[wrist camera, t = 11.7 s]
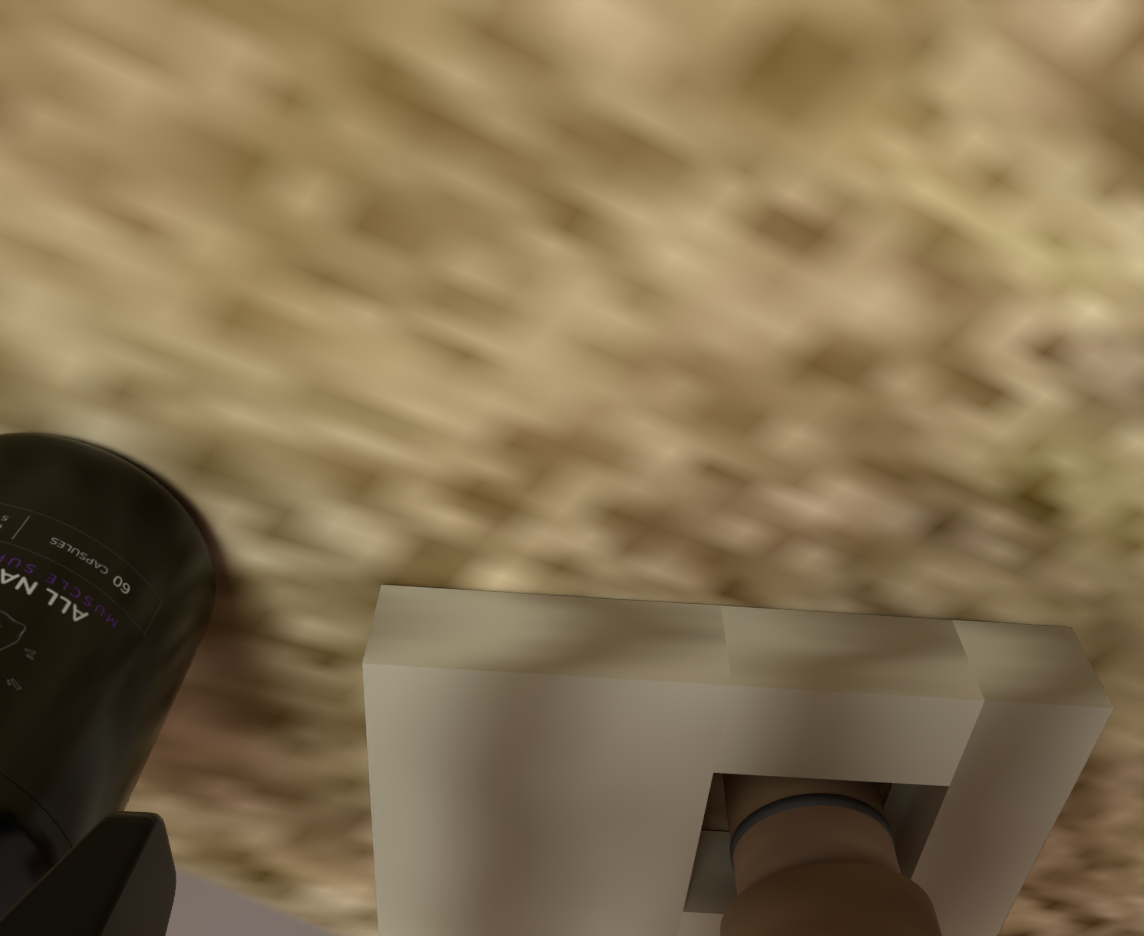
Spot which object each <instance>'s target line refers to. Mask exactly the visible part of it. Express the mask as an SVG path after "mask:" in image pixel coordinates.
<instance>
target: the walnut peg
mask: <svg viewBox="0 0 1144 936" xmlns="http://www.w3.org/2000/svg"><path fill="white" fill-rule="evenodd" d="M722 777H723V785H724V793H725V801H726V809H727V817H728V825H729V833H730V857H731V865H732V868H733V871H734V873H735V881H736V889H737V897H736V898H735V899H734V900H733V901H732V902H731V903H730V905H729V906H728V908H727V909H726V911H725V913H724V915H723V917H722V920H721V924H720V936H942V934H941V930H940V927H939V923H938V920H937V916H936V913H935V909H934V907H933V904H932V901H931V899H930V898H929V896H928V895H927V893H926V892H925V891H924V890H923V889H922V888H921V887H920V886H919V885H917V884H916V883H915V882H913V881H912V880H910V879H909V878H907V877H905V876H903V875H901V872H900V868H899V864H898V861H897V857H896V853H895V842H894V838H893V834H892V830H891V828H890V825H889V823H888V821H887V820H886V816H885V813H884V809H883V805H882V801H881V798H880V794H879V790H878V787H877V783H876V782H868V781H850V780H833V779H815V778H798V777H781V776H763V775H746V774H728V773H722Z"/></svg>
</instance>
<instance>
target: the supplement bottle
mask: <svg viewBox="0 0 1144 936" xmlns="http://www.w3.org/2000/svg"><path fill="white" fill-rule="evenodd" d="M215 588H216V584H215V572H214V566H213V562H212V558H211V555H210V552H209V549H208V546H207V544H206V542H205V539H204V537H203V535H202V533H201V532H200V530H199V528H198V526H197V525H196V523H195V522H194V520H193V519H192V517H191V516H190V515H189V513H188V512H187V510H186V509H185V508H184V507H183V506H182V505H181V503H180V502H179V501H178V500H177V499H176V498H175V497H174V496H173V495H172V494H171V493H170V492H169V491H168V490H167V489H166V488H165V487H164V486H162V485H161V484H160V483H159V482H158V481H156V480H155V479H154V478H152V477H151V476H150V475H148V474H147V473H146V472H144V471H143V470H141V469H140V468H138V467H136V466H135V465H133V464H132V463H130V462H128V461H126V460H124V459H122V458H120V457H119V456H117V455H114V454H112V453H110V452H108V451H105V450H103V449H100V448H98V447H95V446H92V445H90V444H86V443H83V442H80V441H76V440H72V439H68V438H63V437H58V436H51V435H44V434H30V433H13V434H2V435H0V919H1V918H2V917H3V916H4V915H5V914H6V913H7V912H8V911H9V910H10V909H11V908H12V907H13V906H14V905H15V904H16V903H17V902H18V901H19V900H20V899H21V898H22V897H23V896H24V895H25V894H26V893H27V892H28V891H29V890H30V889H31V888H32V887H33V886H34V885H35V884H36V883H37V882H38V881H39V880H40V879H41V878H42V877H43V876H44V875H45V874H46V873H47V872H48V871H49V870H50V869H51V868H52V867H53V866H54V865H55V864H56V863H57V862H58V861H59V860H60V859H61V858H62V857H63V856H64V855H65V854H66V853H67V852H68V851H69V850H71V849H72V848H73V847H74V846H75V845H76V844H77V843H78V842H79V841H80V840H81V839H82V838H83V837H84V836H85V835H86V834H87V833H88V832H89V831H90V830H91V829H92V828H93V827H94V826H95V825H96V824H97V823H98V822H99V821H100V820H101V819H102V818H103V817H105V816H106V815H108V814H110V813H112V812H116V811H124V810H125V807H126V805H127V803H128V801H129V799H130V796H131V794H132V792H133V790H134V788H135V785H136V783H137V781H138V779H139V777H140V774H141V772H142V770H143V768H144V766H145V763H146V761H147V759H148V757H149V755H150V752H151V750H152V748H153V746H154V744H155V741H156V739H157V737H158V735H159V733H160V730H161V728H162V726H163V724H164V722H165V719H166V717H167V715H168V713H169V711H170V708H171V706H172V704H173V702H174V700H175V698H176V695H177V693H178V691H179V689H180V687H181V684H182V682H183V680H184V678H185V676H186V673H187V671H188V669H189V667H190V665H191V662H192V660H193V658H194V656H195V653H196V651H197V648H198V646H199V644H200V641H201V639H202V637H203V634H204V632H205V630H206V627H207V625H208V622H209V619H210V616H211V613H212V610H213V605H214V601H215Z"/></svg>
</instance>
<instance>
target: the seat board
mask: <svg viewBox="0 0 1144 936" xmlns="http://www.w3.org/2000/svg"><path fill="white" fill-rule="evenodd" d="M362 667H363V684H364V700H365V717H366V733H367V750H368V767H369V783H370V800H371V816H372V833H373V850H374V866H375V883H376V899H377V916H378V932H379V936H720V924H721V920H722V917H723V915H724V913H725V911H726V909H727V908H728V906H729V905H730V903H731V902H732V901H733V900H734V899H735V898H736V897H737V889H736V881H735V873H734V871H733V868H732V865H731V857H730V833H729V832H723V831H705V830H701V827H702V823H703V818H704V813H705V809H706V804H707V800H708V795H709V791H710V786H711V781H712V777H713V773H728V774H746V775H763V776H781V777H798V778H815V779H833V780H850V781H868V782H885V783H892V786H891V788H890V791H889V794H888V796H887V799H886V802H885V805H884V807H883V809H884V813H885V816H886V820H887V821H888V823H889V825H890V828H891V830H892V834H893V838H894V842H895V853H896V857H897V861H898V864H899V868H900V872H901V875H903V876H905V877H907V878H909V879H910V880H912V881H913V882H915V883H916V884H917V885H919V886H920V887H921V888H922V889H923V890H924V891H925V892H926V893H927V895H928V896H929V898H930V899H931V901H932V904H933V907H934V909H935V913H936V916H937V920H938V923H939V927H940V930H941V934H942V936H997V935H998V933H999V931H1000V929H1001V927H1002V925H1003V923H1004V921H1005V919H1006V917H1007V915H1008V913H1009V911H1010V910H1011V908H1012V906H1013V904H1014V902H1015V900H1016V898H1017V896H1018V894H1019V892H1020V890H1021V888H1022V886H1023V884H1024V882H1025V880H1026V879H1027V877H1028V875H1029V873H1030V871H1031V869H1032V867H1033V865H1034V863H1035V861H1036V859H1037V857H1038V855H1039V853H1040V851H1041V849H1042V847H1043V846H1044V844H1045V842H1046V840H1047V838H1048V836H1049V834H1050V832H1051V830H1052V828H1053V826H1054V824H1055V822H1056V820H1057V818H1058V816H1059V814H1060V813H1061V811H1062V809H1063V807H1064V805H1065V803H1066V801H1067V799H1068V797H1069V795H1070V793H1071V791H1072V789H1073V787H1074V785H1075V783H1076V782H1077V780H1078V778H1079V776H1080V774H1081V772H1082V770H1083V768H1084V766H1085V764H1086V762H1087V760H1088V758H1089V756H1090V754H1091V752H1092V750H1093V749H1094V747H1095V745H1096V743H1097V741H1098V739H1099V737H1100V735H1101V733H1102V731H1103V729H1104V727H1105V725H1106V723H1107V721H1108V719H1109V718H1110V716H1111V714H1112V712H1113V710H1114V707H1113V705H1112V703H1111V701H1110V699H1109V697H1108V696H1107V694H1106V692H1105V690H1104V688H1103V686H1102V684H1101V682H1100V681H1099V679H1098V677H1097V675H1096V673H1095V671H1094V669H1093V667H1092V666H1091V664H1090V662H1089V660H1088V658H1087V656H1086V654H1085V652H1084V651H1083V649H1082V647H1081V645H1080V643H1079V641H1078V639H1077V637H1076V636H1075V634H1074V632H1073V630H1072V628H1071V627H1059V626H1043V625H1027V624H1011V623H994V622H978V621H962V620H946V619H929V618H913V617H897V616H881V615H864V614H848V613H832V612H816V611H799V610H783V609H767V608H751V607H734V606H718V605H702V604H686V603H669V602H653V601H637V600H621V599H605V598H588V597H572V596H556V595H540V594H523V593H507V592H491V591H475V590H458V589H442V588H426V587H410V586H393V585H381V589H380V593H379V597H378V601H377V605H376V609H375V614H374V618H373V622H372V626H371V630H370V634H369V638H368V642H367V646H366V650H365V654H364V658H363V663H362Z"/></svg>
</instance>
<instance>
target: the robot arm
mask: <svg viewBox="0 0 1144 936" xmlns="http://www.w3.org/2000/svg"><path fill="white" fill-rule="evenodd" d="M175 890H176V871H175V866H174V862H173V857H172V853H171V849H170V844H169V840H168V836H167V832H166V827H165V824H164V821H163V819H162V818H161V817H160V816H159V815H158V814H156V813H147V812H129V811H116V812H112V813H110V814H108V815H106V816H105V817H103V818H102V819H101V820H100V821H99V822H98V823H97V824H96V825H95V826H94V827H93V828H92V829H91V830H90V831H89V832H88V833H87V834H86V835H85V836H84V837H83V838H82V839H81V840H80V841H79V842H78V843H77V844H76V845H75V846H74V847H73V848H72V849H71V850H69V851H68V852H67V853H66V854H65V855H64V856H63V857H62V858H61V859H60V860H59V861H58V862H57V863H56V864H55V865H54V866H53V867H52V868H51V869H50V870H49V871H48V872H47V873H46V874H45V875H44V876H43V877H42V878H41V879H40V880H39V881H38V882H37V883H36V884H35V885H34V886H33V887H32V888H31V889H30V890H29V891H28V892H27V893H26V894H25V895H24V896H23V897H22V898H21V899H20V900H19V901H18V902H17V903H16V904H15V905H14V906H13V907H12V908H11V909H10V910H9V911H8V912H7V913H6V914H5V915H4V916H3V917H2V918H1V919H0V936H165V935H166V930H167V926H168V922H169V918H170V914H171V910H172V906H173V902H174V896H175Z"/></svg>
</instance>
